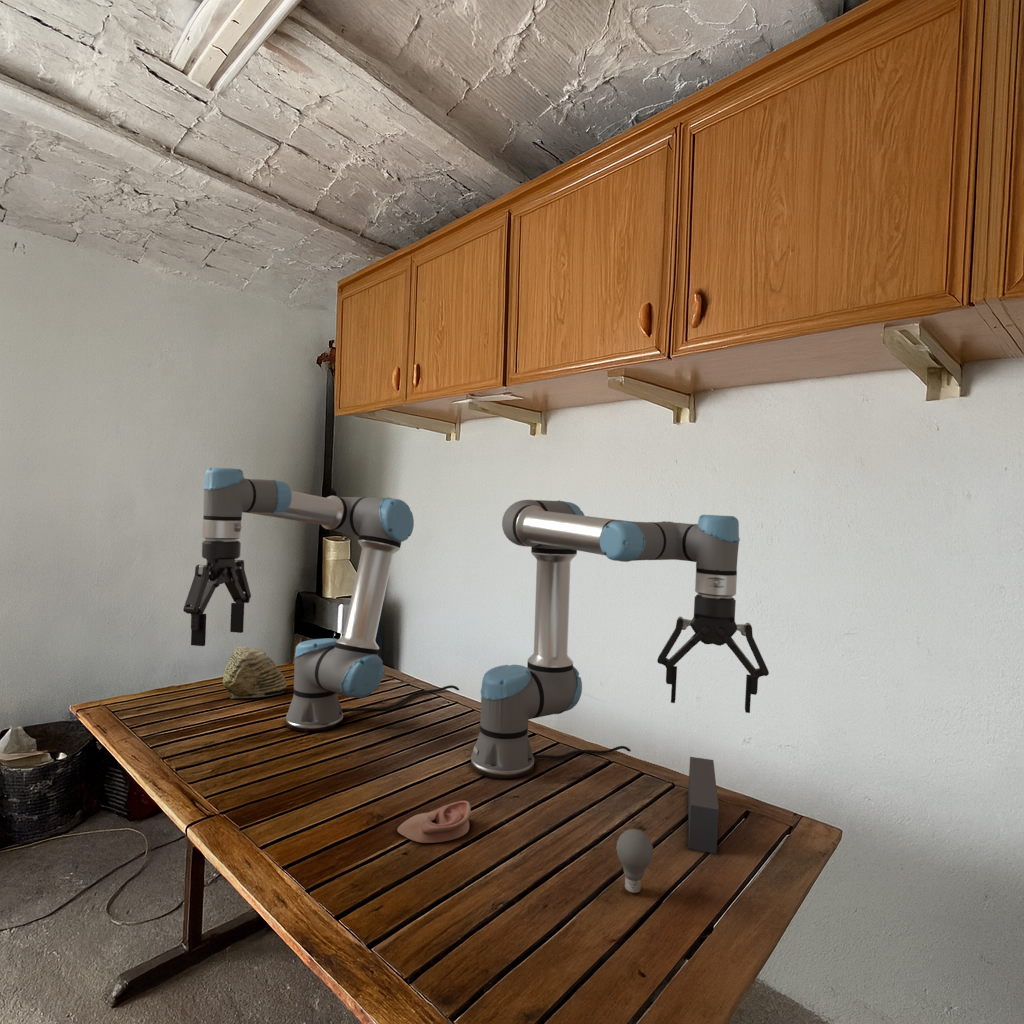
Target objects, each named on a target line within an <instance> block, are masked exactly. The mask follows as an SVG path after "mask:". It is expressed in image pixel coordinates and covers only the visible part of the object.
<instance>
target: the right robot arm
mask: <svg viewBox="0 0 1024 1024" xmlns="http://www.w3.org/2000/svg"><path fill="white" fill-rule="evenodd" d="M501 527H502V531H503V535H504V536H505V538H507V540H508V541H510V542H511V543H512V544H514V545H516V546H519V547H526V548H527V547H528V548H529V547H530V548H531V549H530V553H531V555H532V556H533V557H534V558H535V559H536V574H535V575H536V577H535V579H536V580H535V602H534V603H535V605H534V607H535V609H534V632H533V633H534V635H533V636H534V637H533V639H534V640H533V653H532V654H531V655H530V656H529V657H528V658H527V667H526V666H524V665H522V664H521V665H520V664H510V665H509V664H504V665H503V664H502V665H498V666H495V667H492V668H490V669H488V670H487V671H486V672H485V673H484V675H483V676H482V681H481V688H480V696H481V697H480V715H479V716H480V717H479V720H480V721H479V733H478V736H477V739H476V742H475V745H474V746H473V750H472V753H471V756H470V767H471V769H472V770H473V771H474V772H476V773H477V774H479V775H481V776H484V777H487V778H491V779H498V780H499V779H500V780H501V779H502V780H512V779H518V778H522V777H524V776H527V775H529V774H531V773H532V772H533V770H534V769H535V759H552V760H553V759H554V760H555V759H557V760H558V759H563V758H567V757H570V756H572V755H575V754H585V753H586V754H610V753H613V752H615V751H618V750H625V751H627V752H629V753H630V752H632V750H631V749H630V748H629V747H628V746H625V745H619V746H616V747H613V748H610V749H605V750H600V749H599V750H598V749H597V750H596V749H594V750H593V749H576V750H572V751H569V752H568V753H564V754H559V755H553V754H551V755H549V754H533V750H532V746H531V743H530V739H529V734H528V733H529V720H532V719H538V718H541V717H542V718H543V717H546V716H547V717H548V716H552V715H560V714H562V713H564V712H569V711H570V710H572V709H574V708H575V707H576V706H577V704H578V703H579V702H580V700H581V697H582V691H583V681H582V677H581V676H579V675H580V673H579V670H578V669H577V668H576V667H575V666H574V661H573V659H572V658H571V657H570V656H569V655H568V654H569V653H568V652H569V651H568V650H569V620H570V619H569V618H570V593H571V592H570V590H571V563H572V562H571V561H573V559H574V558H575V557H577V555H578V552H582V553H583V552H584V553H588V554H593V555H594V554H595V555H599V556H600V555H601V556H605V557H606V558H607V559H609V560H611V561H616V562H623V563H624V562H625V563H628V562H635V561H637V562H638V561H673V560H674V561H685V562H691V563H692V562H693V563H695V581H694V582H695V583H694V592H695V593H696V595H695V596H694V601H693V603H694V604H693V617H692V619H688V618H684V617H683V616H678V617H677V619H676V623H675V628H674V630H673V631H672V633H671V634H670V636H669V637H668V640H667V641H666V643H665V645H664V646H663V648H662V650H661V652H660V653H659V655H658V657H657V660H656V662H657V664H659V665H663V666H664V667H665V669H666V671H665V683H666V685H671V688H670V689H671V692H670V693H671V695H670V704H675V703H676V699H677V697H676V696H677V676H678V666H677V663H678V662H679V661H681V660H682V659H683V658H684V657H685V656H686V655H687V654H688V653H689V652H690V651H691V650H692V649H693V648H694V647H695V646H697V644H699V643H700V642H701V643H703V644H704V645H715V646H720V647H721V646H724V645H726V646H727V647H728V648H729V649H730V650H731V651H732V653H733V654H734V655H735V657H736V658H737V659H738V661H739V662H740V663H741V664H742V666H743V667H744V668H745V669H746V671H747V672H748V673H749V674H746V676H745V677H746V678H745V695H744V696H745V697H744V712H745V713H746V714H751V701H752V699H751V698H752V695H754V696H756V695H757V694H758V690H759V689H758V688H759V687H758V685H759V679H760V677H761V678H762V677H767V676H769V674H770V672H769V668H768V667H767V663H766V662H765V660H764V658H763V655H762V654H761V651H760V649H759V647H758V645H757V642H756V641H755V639H754V636H753V627H752V624H751V623H750V622H746V623H736V606H737V605H736V603H737V602H736V601H737V600H736V599H735V598H734V597H735V596H736V595H737V583H738V556H739V546H740V545H739V544H740V541H741V538H740V522H739V519H738V517H736V516H733V515H719V514H701V515H700V516H699V517H698V520H697V523H685V522H674V521H665V520H664V521H631V520H623V519H613V518H607V517H606V518H605V517H596V516H589V515H585V513H584V511H582V510H581V508H580V506H579V505H577V504H575V503H574V502H571V501H566V500H565V501H564V500H560V499H559V500H547V499H546V500H543V499H538V500H537V499H522V500H518V501H516V502H514V503H512V504H511V505H509V507H508V508H507V509H506V510H505V511H504V512H503V516H502V519H501ZM688 627H690V628H691V629H692V631H693V632H694V633H693V635H692V636H691V637H690V638H689V639H688V640H687V641H686V642H685V643H684V644H683V645H681V647H680V648H679V649H678V650H677V651H676V652H675V653H674V654H673V655H671V657H670V658H667V657H668V656H669V654H670V652H671V651H672V649H673V647H674V646H675V644H676V642H677V640H678V639H679V637H680V635H681V633H682V631H685V630H687V628H688ZM737 631H739V632H740V634H741V636H743V637H745V639H746V642H747V644H748V646H749V648H750V650H751V653H752V654H753V657H754V659H755V661H756V663H757V666H758V668H755V666H754V665H753V663H752V662H751V661H750V659H749V658H748V657H747V655H745V653H744V652H743V650H742V649H741V648H740V647H739V645H738V644H737V643H736V641H735V639H733V636H734V635H735V634H736V632H737ZM675 665H676V666H675Z"/></svg>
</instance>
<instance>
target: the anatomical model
mask: <svg viewBox="0 0 1024 1024" xmlns="http://www.w3.org/2000/svg"><path fill="white" fill-rule="evenodd" d="M471 813H472V808H471V804H470V802H469V801H468V800H459V801H454V802H451V803H449V804H446V805H442V806H441V807H439V808H436V809H434V810H432V811H429V812H421V813H417V814H415V815H413V816H411V817H409V818H407V819H406V820H405V821H403V822H402V823H401V824H400V825H399V826H398V827H397V829H396V830H397V833H398V834H400V835H401V836H403V837H404V838H406V839H408V840H410V841H414V842H416V843H419V844H434V843H443V842H448V841H452V840H456V839H459V838H461V837H463V836H465V835H466V834H467V833H469V830H470V821H469V819H470V817H471Z"/></svg>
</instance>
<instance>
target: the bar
mask: <svg viewBox="0 0 1024 1024" xmlns="http://www.w3.org/2000/svg"><path fill="white" fill-rule="evenodd" d="M687 799H688V800H687V802H688V803H687V807H688V809H687V811H688V813H687V814H688V815H687V816H688V817H687V818H688V821H687V822H688V825H687V826H688V850H693V851H698V852H705V853H709V854H714V855H717V853H718V852H717V851H718V834H719V816H720V815H719V814H720V808H719V807H720V806H719V799H718V790H717V781H716V771H715V763H714V759H710V758H702V757H696V756H689V769H688V791H687Z"/></svg>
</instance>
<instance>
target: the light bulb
mask: <svg viewBox="0 0 1024 1024" xmlns="http://www.w3.org/2000/svg"><path fill="white" fill-rule="evenodd" d="M615 849H616V854H617V857H618V859H619V861H620V863H621V865H622V867H623V873H624V874H623V875H624V876H625V878H624V888H625V890H627V891H628V892H630V893H634V894H635V893H639V892H640V891H641V889H642V887H641V886H642V879H643V877H644V875H645V871H646V868H647V867H648V866H649V864H650V863H651V861H652V859H653V855H654V847H653V843H652V841H651V838H649V836H648V835H647V834H646V833H645V832H643V831H642V830H641V829H636V828H629V829H627V830H625V831H623V832H622V833H621V834H620V835H619V837H618V839H617V841H616V847H615Z"/></svg>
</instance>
